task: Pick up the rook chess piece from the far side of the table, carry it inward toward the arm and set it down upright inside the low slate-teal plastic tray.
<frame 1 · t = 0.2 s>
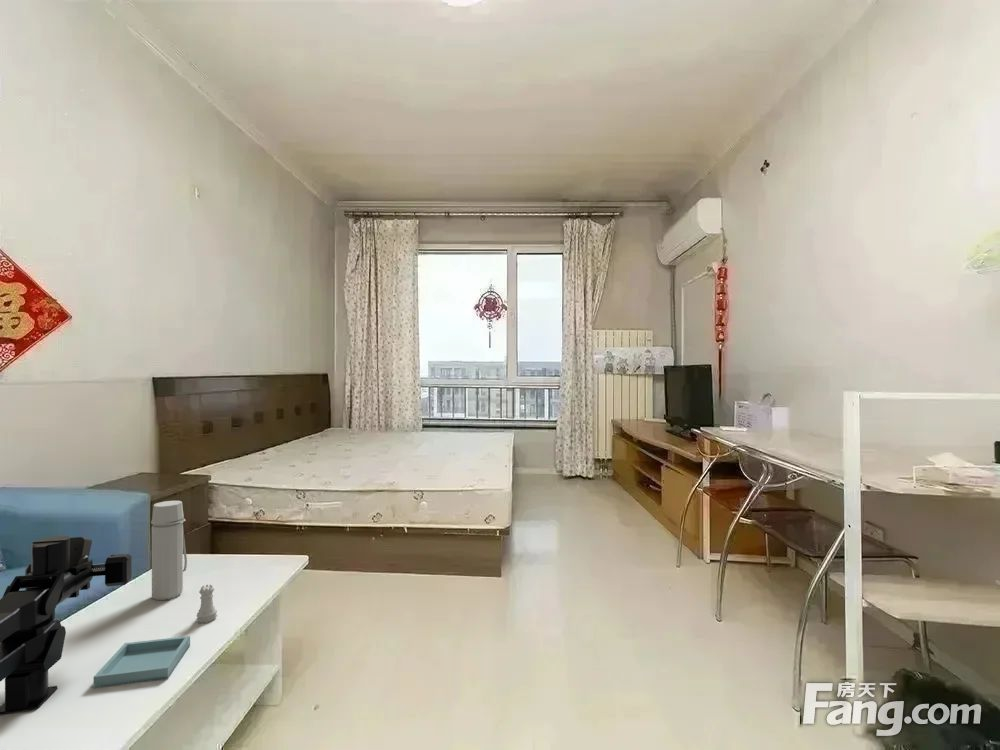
hand: (100, 560, 118), 17 cm above the table, tool horizontal, fingers open, 9 cm apart
rook chess piece: (206, 620, 125), on the table
slate tray: (145, 665, 105), on the table
water bottle: (170, 594, 139), on the table
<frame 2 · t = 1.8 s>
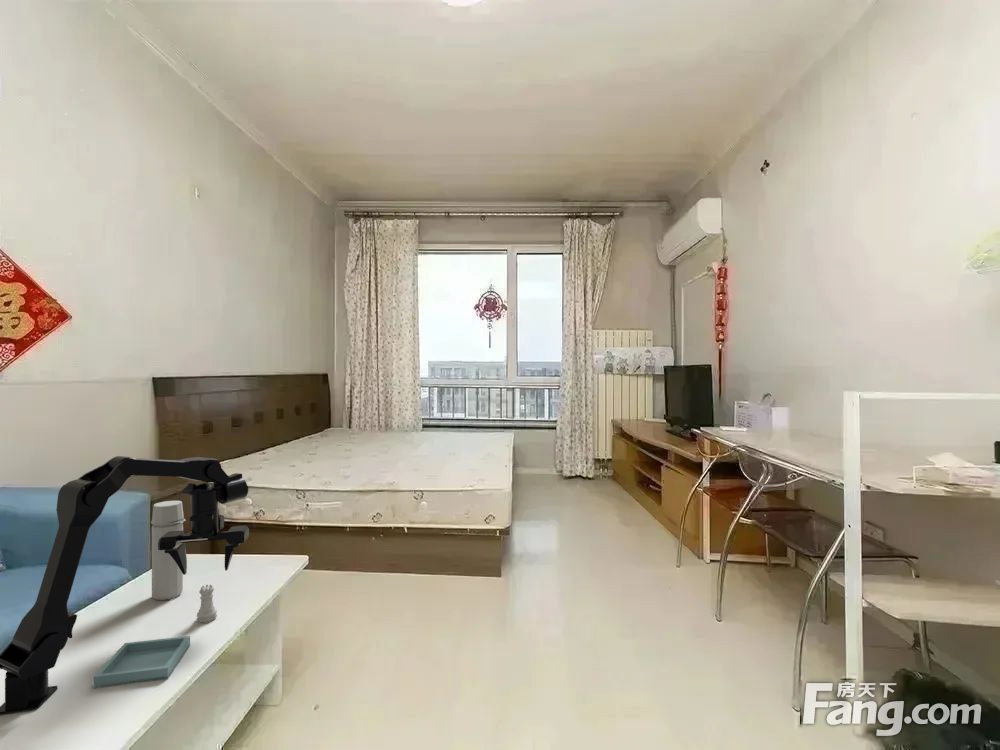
hand: (206, 572, 125), 12 cm above the table, tool pointing down, fingers open, 9 cm apart
nothing on the table moved.
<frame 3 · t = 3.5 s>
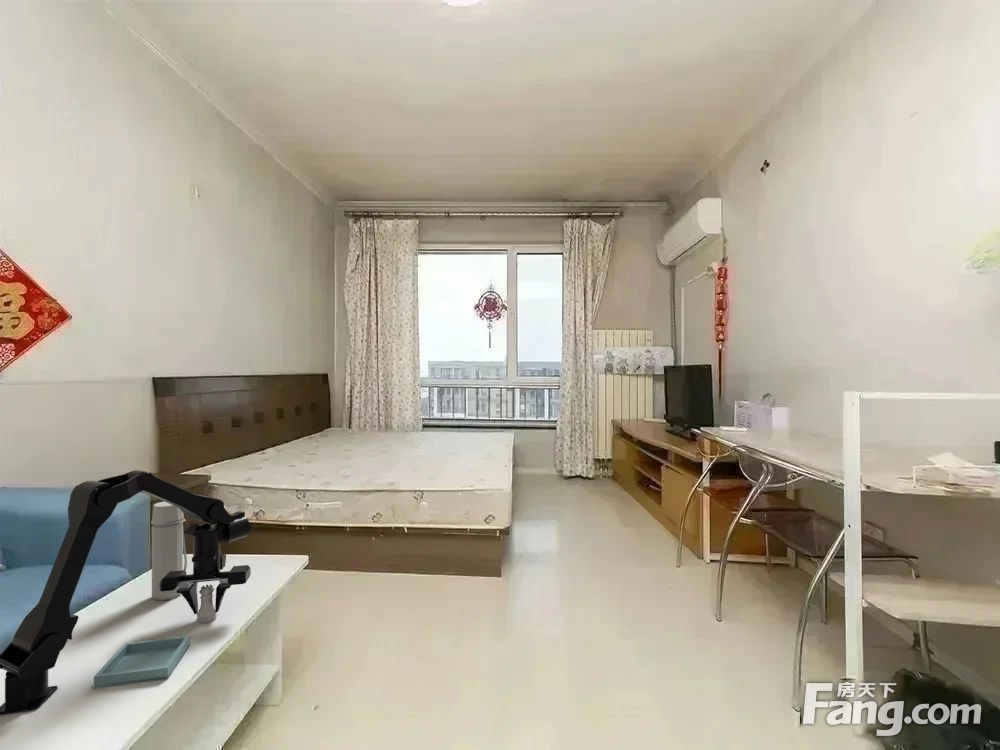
hand: (206, 612, 125), 2 cm above the table, tool pointing down, fingers closed on rook chess piece, 4 cm apart
rook chess piece: (206, 619, 125), on the table, touching gripper
everything else where it was.
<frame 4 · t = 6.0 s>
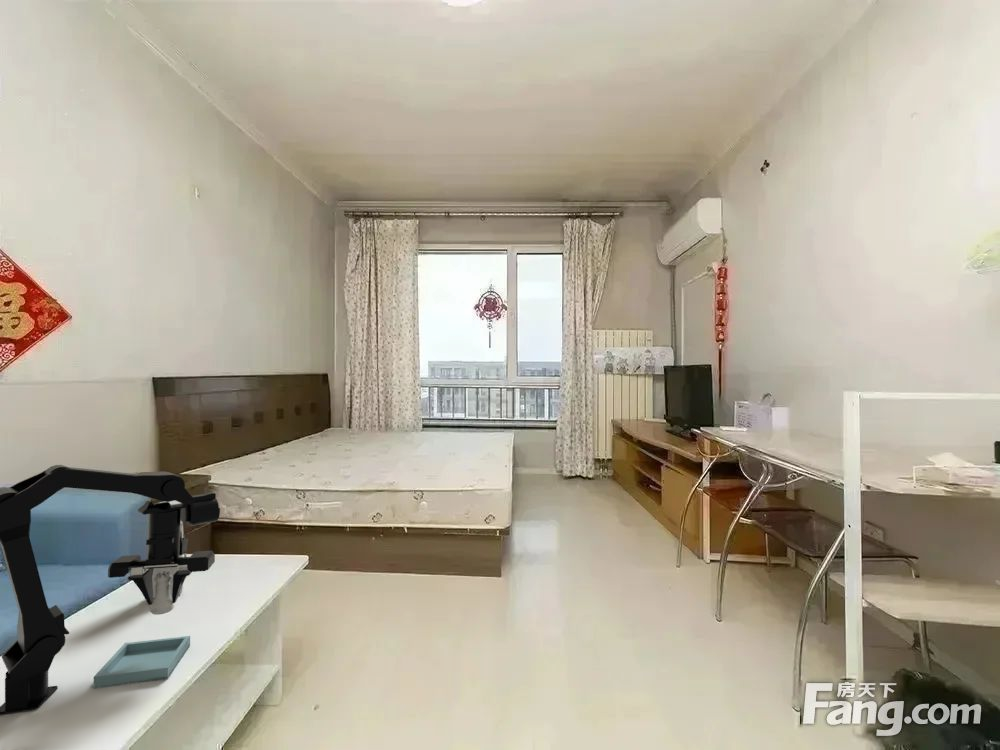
hand: (162, 603, 110), 10 cm above the table, tool pointing down, fingers closed on rook chess piece, 4 cm apart
rook chess piece: (162, 611, 110), point 9 cm above the table, touching gripper
everything else where it was.
when the fingers open (4 cm above the table, at t = 8.5 s): rook chess piece drops 1 cm, resting on slate tray.
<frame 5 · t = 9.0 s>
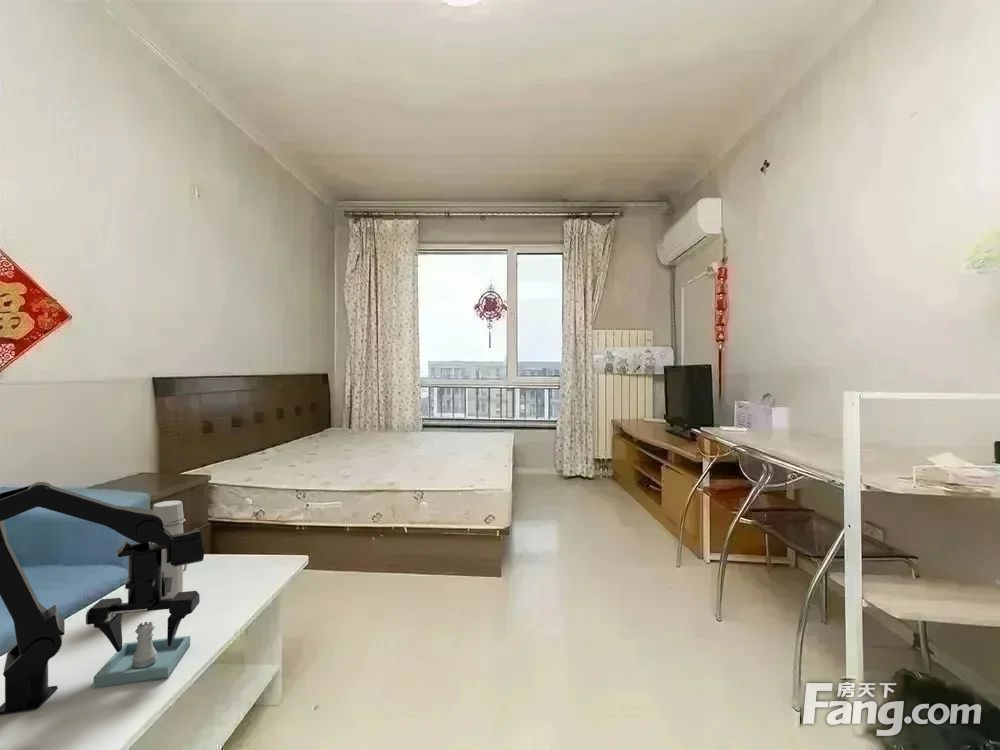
hand: (145, 648, 105), 4 cm above the table, tool pointing down, fingers open, 9 cm apart
rook chess piece: (144, 663, 105), resting on slate tray
everything else where it was.
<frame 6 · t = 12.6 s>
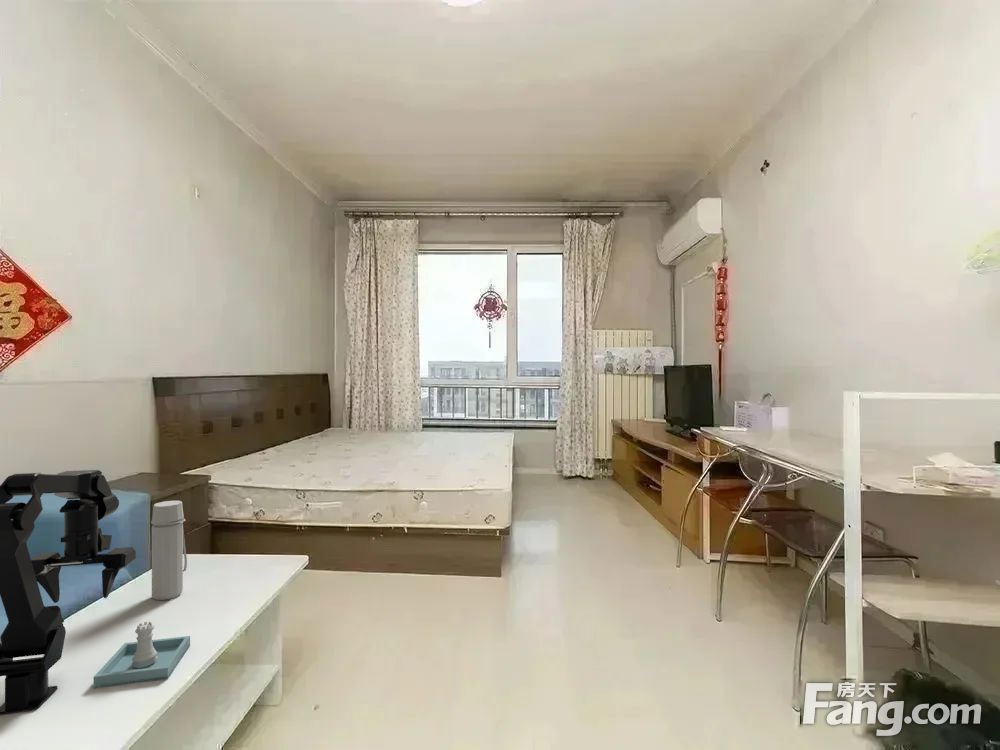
hand: (81, 599, 111), 11 cm above the table, tool pointing down, fingers open, 9 cm apart
nothing on the table moved.
at the end: rook chess piece inside the target area on the slate tray (0.1 cm from its centre), point 0.3 cm above the slate tray's base; rook chess piece tilted 0°; the gripper is holding nothing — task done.
